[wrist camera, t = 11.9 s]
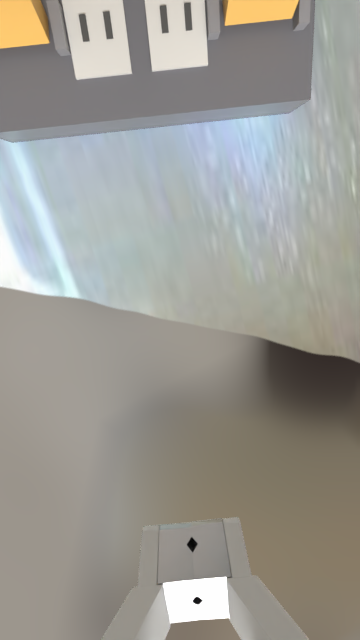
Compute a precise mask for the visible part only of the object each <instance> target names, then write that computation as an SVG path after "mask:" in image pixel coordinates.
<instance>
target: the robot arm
mask: <svg viewBox="0 0 360 640" xmlns="http://www.w3.org/2000/svg"><path fill="white" fill-rule="evenodd" d="M199 618H200V619H201V620H203V619H219V618H229V620H230V622H231V623H232V625H233V626H234V628H235V630H236V631H237V633H238V635H239V636H240V638H241V640H309V639H308V637H307V636H306V635H305V634H304V632H303V631H302V630H301V629H300V628H299V626H298V625H297V624H296V623H295V621H294V620H293V619H292V618H291V617H290V615H289V614H288V613H287V612H286V611H285V609H284V608H283V607H282V606H281V604H280V603H279V602H278V601H277V600H276V598H275V597H274V596H273V595H272V593H271V592H270V591H269V590H268V588H267V587H266V586H265V585H264V584H263V582H262V581H261V580H260V579H259V578H258V576H256V575H255V576H252V575H251V570H250V565H249V561H248V556H247V552H246V547H245V543H244V538H243V533H242V528H241V524H240V520H239V518H238V517H234V518H226V519H222V518H220V519H211V520H203V521H194V522H189V523H177V524H165V525H151V526H144V527H143V530H142V539H141V550H140V563H139V575H138V587H133V588H132V589H131V591H130V592H129V594H128V596H127V597H126V599H125V601H124V602H123V604H122V606H121V607H120V609H119V611H118V612H117V614H116V616H115V617H114V619H113V621H112V622H111V624H110V626H109V627H108V629H107V631H106V632H105V634H104V636H103V637H102V639H101V640H165V638H166V635H167V633H168V631H169V628H170V623H177V622H185V621H192V620H200V619H199Z"/></svg>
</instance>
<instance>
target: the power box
mask: <svg viewBox="0 0 360 640" xmlns="http://www.w3.org/2000/svg"><path fill="white" fill-rule="evenodd" d="M41 3H42V5H43V8H44V10H45V13H46V15H47V17H48V25H49V39H50V43H47V44H38V45H29V46H20V47H10V48H1V49H0V139H3V140H6V141H9V142H12V143H13V142H23V141H32V140H41V139H51V138H60V137H70V136H79V135H88V134H98V133H107V132H117V131H126V130H135V129H145V128H154V127H164V126H173V125H182V124H192V123H201V122H211V121H220V120H229V119H239V118H248V117H258V116H267V115H276V114H286V113H290V112H292V111H293V110H295V109H296V108H298V107H299V106H301V105H303V104H304V103H306V102H307V101H309V100H310V98H311V77H312V55H313V34H314V12H315V0H299V1H298V4H297V6H296V9H295V12H294V14H293V17H292V19H283V20H274V21H264V22H255V23H246V24H237V25H227V26H225V25H224V14H223V4H222V0H41Z"/></svg>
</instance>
